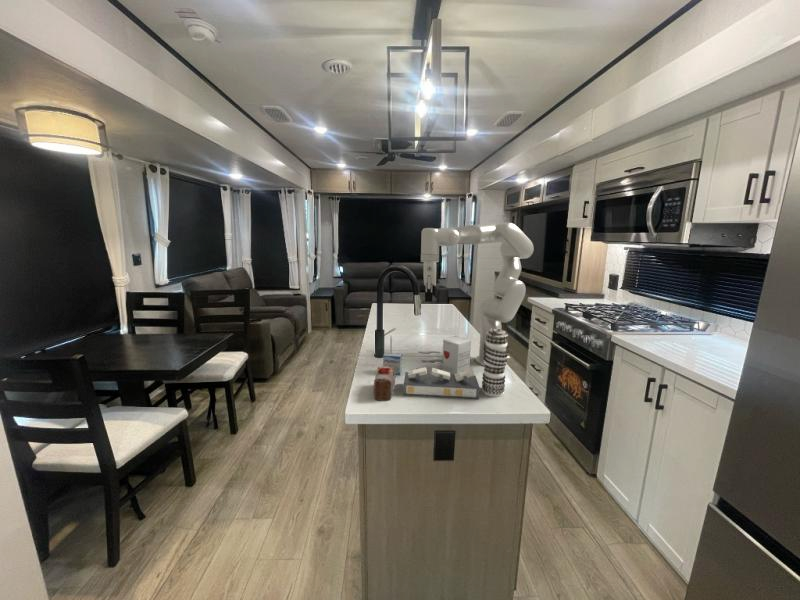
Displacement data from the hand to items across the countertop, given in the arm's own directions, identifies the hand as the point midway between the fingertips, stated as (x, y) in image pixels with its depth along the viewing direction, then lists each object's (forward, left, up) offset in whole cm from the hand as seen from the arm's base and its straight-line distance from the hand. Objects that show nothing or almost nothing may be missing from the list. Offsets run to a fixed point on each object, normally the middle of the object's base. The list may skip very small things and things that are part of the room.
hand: (428, 301), depth 137 cm
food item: (+16, +21, -32) cm, 42 cm away
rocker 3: (-14, +18, -25) cm, 34 cm away
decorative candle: (-26, +16, -32) cm, 44 cm away
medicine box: (+15, +3, -32) cm, 36 cm away
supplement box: (-13, -2, -32) cm, 35 cm away
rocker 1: (+4, +18, -25) cm, 31 cm away
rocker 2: (-6, +18, -25) cm, 31 cm away
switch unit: (-6, +18, -32) cm, 37 cm away
